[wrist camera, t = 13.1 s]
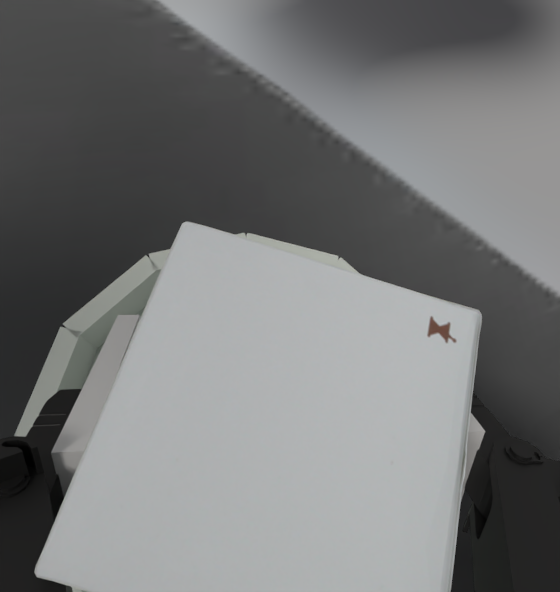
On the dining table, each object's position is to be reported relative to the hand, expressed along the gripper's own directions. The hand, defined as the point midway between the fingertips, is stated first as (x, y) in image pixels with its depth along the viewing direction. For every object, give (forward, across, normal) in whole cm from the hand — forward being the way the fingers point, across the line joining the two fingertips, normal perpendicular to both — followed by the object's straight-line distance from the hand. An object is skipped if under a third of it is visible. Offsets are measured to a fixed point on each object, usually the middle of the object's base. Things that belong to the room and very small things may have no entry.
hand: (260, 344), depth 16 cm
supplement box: (+1, 0, -6) cm, 6 cm away
